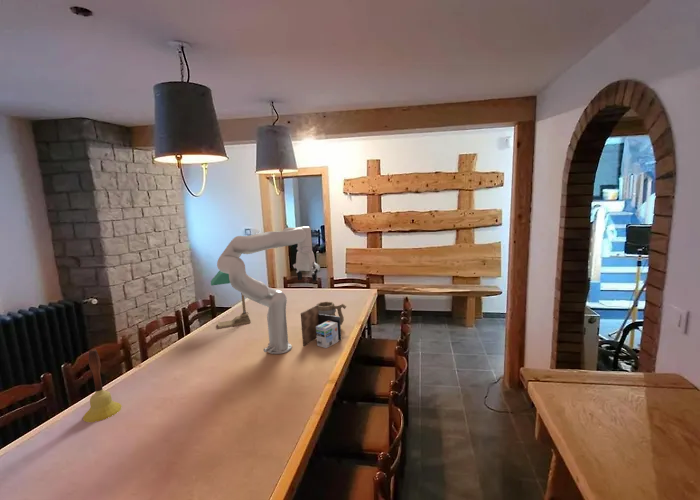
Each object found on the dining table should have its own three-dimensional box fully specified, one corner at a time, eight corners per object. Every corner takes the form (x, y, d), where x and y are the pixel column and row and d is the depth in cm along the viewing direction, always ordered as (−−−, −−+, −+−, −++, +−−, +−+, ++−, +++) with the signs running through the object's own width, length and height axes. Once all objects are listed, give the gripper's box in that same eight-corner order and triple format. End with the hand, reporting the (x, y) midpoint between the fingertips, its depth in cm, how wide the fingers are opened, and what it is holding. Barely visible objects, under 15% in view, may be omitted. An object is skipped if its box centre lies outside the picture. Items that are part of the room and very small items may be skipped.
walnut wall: (304, 346, 188) (301, 313, 186) (303, 346, 189) (300, 313, 186) (320, 336, 201) (318, 305, 199) (319, 335, 202) (316, 304, 199)
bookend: (340, 340, 194) (339, 317, 192) (319, 336, 200) (318, 314, 198) (341, 339, 194) (340, 316, 192) (320, 336, 201) (318, 313, 199)
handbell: (115, 399, 146) (105, 341, 142) (126, 409, 138) (117, 348, 134) (78, 414, 136) (67, 352, 132) (88, 426, 128) (77, 360, 125)
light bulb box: (326, 348, 184) (325, 328, 182) (316, 346, 188) (315, 326, 186) (339, 341, 193) (338, 322, 191) (329, 339, 197) (328, 320, 195)
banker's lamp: (251, 324, 225) (246, 270, 220) (216, 330, 218) (209, 274, 213) (248, 317, 240) (243, 266, 235) (215, 323, 232) (209, 270, 227)
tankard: (312, 329, 213) (310, 304, 211) (323, 322, 224) (321, 298, 222) (341, 333, 204) (339, 307, 201) (351, 325, 215) (350, 301, 212)
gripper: (287, 250, 194) (290, 281, 197) (314, 251, 186) (316, 283, 188) (296, 248, 201) (298, 278, 203) (322, 248, 192) (324, 280, 195)
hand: (307, 280), depth 196 cm, fingers open, 9 cm apart
